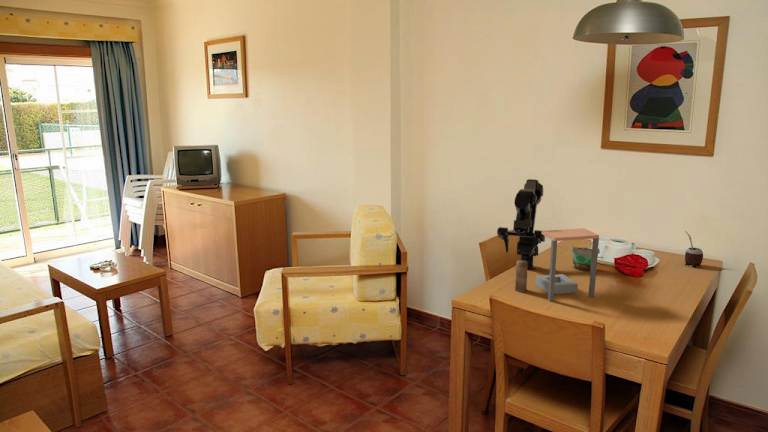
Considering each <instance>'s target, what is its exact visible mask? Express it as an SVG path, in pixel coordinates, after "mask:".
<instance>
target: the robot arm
mask: <svg viewBox="0 0 768 432" xmlns="http://www.w3.org/2000/svg"><path fill="white" fill-rule="evenodd" d="M525 182H526V183H524V186H523V188H522V189H519V190H518V192H517V193H516V194H515V197H514V207H515V210H516V216H515V219H514V220H513V230H509V228H508V227H503V226H499V227H498V228H497V231H496V234H497V237H498V238H499V239H501V240H502V241H504V246H505V248H504V249H505V253H506V254H508V252H509V243H510V242H509V241H510V239H509V236H510V237H511V236H512V237H519V238H518V241H517V243H516V255H520V259H519V260H524V261H527V262H528V269H527V270H536V266H534V257H538V256H539V246H538V245H539V244H541V243H543V242H545V241H546V236H544V235H542V234H541V232H542V231H543V230H537V229H535V222H536V216H537V215H536V214H537V206H539V204H540V203H541V202H542V197H543V196H544V186H543V184H542V183H540V182H539V180H538V179H532V178H529V179H526V181H525Z"/></svg>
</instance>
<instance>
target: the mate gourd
mask: <svg viewBox="0 0 768 432" xmlns="http://www.w3.org/2000/svg"><path fill="white" fill-rule="evenodd" d="M684 233H686V235H687V236H688V239H689V241H690V247H688V248H687V249H686V251H685V253H684V262H685V263H684V265H685V266H687V265H692V266H691V268H692V267H694V268H695V267H696V266H702V265H701V264H703V258H704V252H703V250H702V249H701V248H698V247H694V245H693V242H692V241H693V240H692V237H691V235H690V234H689V233H688V232H687V231H686V230H685V231H684Z"/></svg>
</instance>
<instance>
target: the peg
mask: <svg viewBox="0 0 768 432" xmlns="http://www.w3.org/2000/svg"><path fill="white" fill-rule="evenodd" d="M515 265H516V266H515V269H516V270H515V286H514V291H515V292H518V293H526V292H527V285H528V270H529V269H528V262H527V261H524V260H520V259H518V260H516V263H515Z"/></svg>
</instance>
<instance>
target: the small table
mask: <svg viewBox="0 0 768 432" xmlns="http://www.w3.org/2000/svg"><path fill="white" fill-rule="evenodd" d="M541 231H542V232H541V234H542V235H544V236H545V238H548V239H549V240H551V242H550V243H551V245H550V259H549V274H546V275H536V276H535V285H536V286H537V287H539V288H540V289H542V290H543V291H544V292H545V293H547V301H548V302H554V300H555V299H554V297H555V295H557V294H558V295H559V294H568V293H569V294H571V293H578V285H579V284H578V283H577V282H575V281H574V280H573V279H571V278H570V277H568V276H567V275H565V274H563V273H560V274H556V269H557V268H556V266H557V265H556V264H557V253H558V252H557V249H558V242H561V241H576V240H579V241H580V240H592V247H591V249H592V258H591V270H590V271H589V272H590V274H589V286H588V296H587V297H588V298H590V299H593V298H595V292H596V291H595V290H596V278H597V266H598V257H597V256H599V254H598V249H599V244H600V243H599V242H600V241H599V240H600V235H599V234H597V233H595V232H592V231H590V230H588V229H587V228H570V229H568V228H567V229H554V230H553V229H550V230H541Z"/></svg>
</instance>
